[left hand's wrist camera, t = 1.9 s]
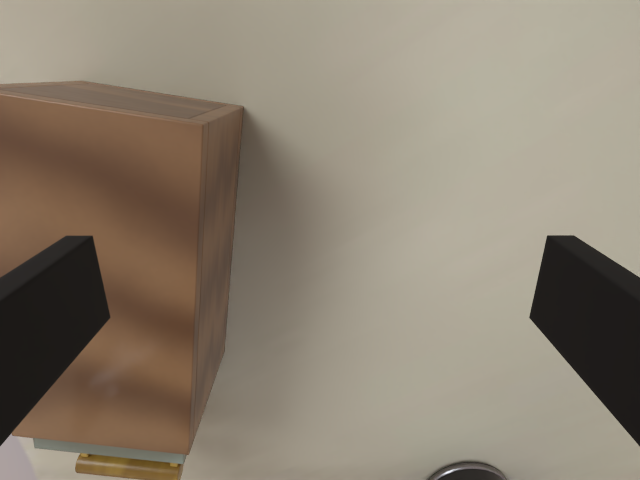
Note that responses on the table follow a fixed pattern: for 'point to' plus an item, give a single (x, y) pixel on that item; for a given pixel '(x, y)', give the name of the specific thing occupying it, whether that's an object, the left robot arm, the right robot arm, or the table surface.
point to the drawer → (120, 460)
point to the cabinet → (127, 248)
